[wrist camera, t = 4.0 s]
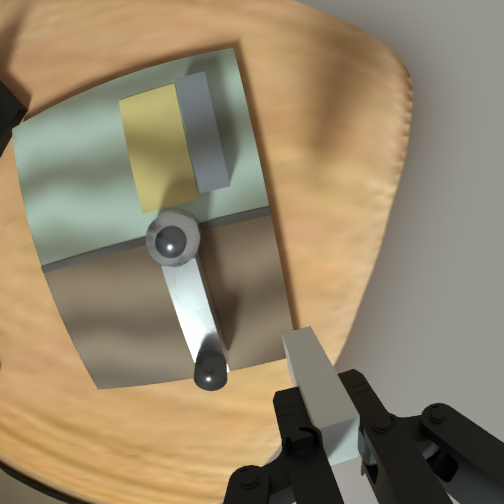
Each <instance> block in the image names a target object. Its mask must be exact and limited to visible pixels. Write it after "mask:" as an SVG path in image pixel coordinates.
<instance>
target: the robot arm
mask: <svg viewBox="0 0 504 504" xmlns="http://www.w3.org/2000/svg"><path fill="white" fill-rule="evenodd" d="M282 338H283V343H284V348H285V353H286V358H287V363H288V368H289V373H290V377H291V380H292V383H293V386H294V387H293V388H289V389H285V390H281V391H277V392H275V395H274V398H273V404H274V409H275V413H276V417H277V422H278V426H279V431H280V435H281V439H282V447H283V448H282V451H281V453H280V455H279V456H278V457H277V458H276V459H275V460H274V461H272V462H271V463H268V464H266V465H264V466H262V467H259V466H255V465H248V466H243V467H241V468H239V469H237V470H236V471H235V472H233V473H232V475H231V477H230V479H229V482H228V486H227V490H226V494H225V498H224V502H223V504H292V503H294V502H296V504H344V501H343V499H342V496H341V493H340V491H339V488H338V485H337V482H336V480H335V477H334V474H333V472H332V469H331V465H335V464H338V463H341V462H344V461H347V460H350V459H353V458H356V457H358V451H359V453H360V455H361V457H362V465H361V475H362V476H363V475H364V473H365V474H366V476H367V478H368V481H369V483H370V485H371V487H372V489H373V491H374V494H375V496H376V498H377V501H378V502H379V504H453V502H452V501H451V499H450V497H449V496H448V494H449V495H451V496H452V497H453V498H454V499H455V500H456V501H458V502H459V503H460V504H504V443H503V442H502V441H500V440H499V439H497V438H496V437H494V436H493V435H491V434H490V433H488V432H487V431H485V430H484V429H482V428H481V427H480V426H478V425H477V424H475V423H474V422H472V421H471V420H469V419H468V418H466V417H465V416H463V415H462V414H460V413H459V412H457V411H456V410H455V409H453V408H452V407H450V406H449V405H446V404H444V403H436V404H431V405H430V406H428V407H426V408H425V409H424V410H423V412H422V415H418V416H412V417H403V418H402V417H397V416H395V415H393V414H391V413H389V412H388V411H387V410H386V409H385V407H384V406H383V404H382V403H381V401H380V400H379V398H378V397H377V395H376V394H375V392H374V391H373V389H372V388H371V386H370V385H369V383H368V381H367V380H366V378H365V377H364V375H363V374H362V373H360V372H358V371H357V370H355V369H352V370H349V371H346V372H343V373H339V374H337V373H336V371H335V370H334V368H333V366H332V364H331V362H330V360H329V359H328V357H327V355H326V353H325V351H324V350H323V348H322V346H321V344H320V342H319V341H318V339H317V337H316V335H315V333H314V332H313V330H312V328H311V326H309V327H305V328H302V329H298V330H294V331H290V332H286V333H282ZM446 492H447V493H448V494H447V493H446Z"/></svg>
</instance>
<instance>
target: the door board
mask: <svg viewBox="0 0 504 504" xmlns="http://www.w3.org/2000/svg"><path fill="white" fill-rule="evenodd" d="M12 135H13V144H14V152H15V159H16V166H17V172H18V178H19V183H20V188H21V193H22V198H23V202H24V207H25V211H26V215H27V219H28V223H29V227H30V230H31V234H32V238H33V241H34V244H35V248H36V251H37V254H38V257H39V260H40V263H41V266H42V267H41V268H42V271H43V273H44V275H45V278H46V281H47V283H48V286H49V289H50V291H51V294H52V296H53V299H54V301H55V304H56V306H57V309H58V311H59V313H60V316H61V318H62V320H63V322H64V325H65V327H66V329H67V331H68V333H69V335H70V338H71V340H72V342H73V344H74V346H75V348H76V350H77V352H78V354H79V356H80V358H81V360H82V361H83V363H84V365H85V367H86V369H87V371H88V373H89V374H90V376H91V378H92V380H93V381H94V383H95V385H96V387H97V388H98V389H111V388H122V387H132V386H141V385H149V384H157V383H164V382H171V381H178V380H184V379H190V378H194V368H195V362H194V359H193V357H192V354H191V351H190V349H189V346H188V343H187V341H186V338H185V335H184V333H183V330H182V327H181V324H180V322H179V319H178V316H177V313H176V310H175V307H174V304H173V301H172V298H171V295H170V292H169V289H168V286H167V283H166V280H165V277H164V273H163V270H162V267H161V266H162V264H160V263H158V262H157V261H156V260H154V259H153V258H152V256H151V255H150V253H149V252H148V249H147V246H146V232H147V229H148V227H149V225H150V224H151V223H152V221H153V220H154V219H156V218H157V217H158V216H160V215H161V214H163V213H164V212H166V211H168V210H171V209H183V210H186V211H188V212H190V213H191V214H193V215H194V216H195V217H196V219H197V220H198V222H199V224H200V227H201V240H200V244H199V247H198V251H199V255H200V259H201V262H202V266H203V270H204V273H205V277H206V280H207V284H208V287H209V291H210V294H211V298H212V301H213V305H214V308H215V311H216V315H217V318H218V322H219V325H220V328H221V331H222V335H223V338H224V341H225V344H226V348H227V351H228V354H229V366H230V371H233V370H238V369H242V368H247V367H251V366H256V365H260V364H264V363H268V362H273V361H277V360H281V359H285V358H286V353H285V348H284V343H283V338H282V333H286V332H290V331H293V326H292V321H291V315H290V310H289V304H288V299H287V293H286V288H285V283H284V278H283V272H282V267H281V262H280V257H279V252H278V247H277V242H276V237H275V232H274V227H273V222H272V217H271V211H270V207H269V202H268V198H267V193H266V188H265V183H264V179H263V174H262V169H261V165H260V160H259V156H258V151H257V146H256V142H255V137H254V133H253V129H252V124H251V120H250V115H249V111H248V107H247V102H246V98H245V94H244V90H243V85H242V81H241V77H240V73H239V69H238V65H237V60H236V56H235V52H234V48H229V49H223V50H218V51H213V52H208V53H203V54H198V55H194V56H190V57H185V58H181V59H178V60H174V61H170V62H166V63H163V64H159V65H156V66H152V67H149V68H146V69H143V70H140V71H137V72H134V73H131V74H128V75H125V76H122V77H119V78H117V79H114V80H111V81H109V82H106V83H103V84H101V85H98V86H96V87H94V88H91V89H89V90H86V91H84V92H82V93H80V94H77V95H75V96H73V97H71V98H69V99H67V100H64V101H62V102H60V103H58V104H56V105H54V106H52V107H50V108H48V109H46V110H45V111H43V112H41V113H39V114H37V115H35V116H33V117H32V118H30V119H28V120H26V121H25V122H23V123H21V124H20V125H18V126H16V127H15V128H13V129H12Z"/></svg>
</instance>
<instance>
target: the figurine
mask: <svg viewBox="0 0 504 504" xmlns="http://www.w3.org/2000/svg"><path fill="white" fill-rule="evenodd" d="M27 111H28V110H27V109H26V108H25V107H24V106H23V105H22V104H21V103H20V102H19V100H18V99H17V98H16V97H15V96H14V95H13V94H12V93H11V92H10V91H9V90H8V88H7V87H6V86H5V85H4V84H3V83H2V82H1V81H0V157H1V155H2V153H3V151H4V150H5V148H6V146H7V144H8V142H9V141H10V139H11V137H12V129H13V128H15V127H16V126H18V125H19V124H20V122H21V121H22V119H23V117H24V116H25V114H26V113H27Z"/></svg>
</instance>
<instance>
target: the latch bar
mask: <svg viewBox="0 0 504 504" xmlns="http://www.w3.org/2000/svg"><path fill="white" fill-rule="evenodd" d="M200 240H201V227H200V224H199V222H198V220H197V219H196V217H195V216H194V215H193V214H191V213H190V212H188V211H186V210H183V209H171V210H168V211H166V212H164V213H163V214H161V215H160V216H158V217H157V218H156V219H154V220H153V221H152V223H151V224H150V225H149V227H148V229H147V232H146V246H147V249H148V252H149V253H150V255H151V256H152V258H153V259H154V260H156V261H157V262H158V263H160V264H162V266H161V267H162V270H163V273H164V277H165V280H166V283H167V286H168V289H169V292H170V295H171V298H172V301H173V304H174V307H175V310H176V313H177V316H178V319H179V322H180V324H181V327H182V330H183V333H184V335H185V338H186V341H187V343H188V346H189V349H190V351H191V354H192V357H193V359H194V362H195V368H194V381H195V383H196V385H197V386H198V387H200V388H202V389H204V390H208V391H215V390H218V389H221V388H222V387H224V386H225V384H226V382H227V372H230V366H229V354H228V351H227V348H226V344H225V341H224V338H223V335H222V331H221V328H220V325H219V322H218V318H217V315H216V311H215V308H214V305H213V301H212V298H211V294H210V291H209V287H208V284H207V280H206V277H205V273H204V270H203V266H202V262H201V259H200V255H199V251H198V247H199V244H200Z"/></svg>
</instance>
